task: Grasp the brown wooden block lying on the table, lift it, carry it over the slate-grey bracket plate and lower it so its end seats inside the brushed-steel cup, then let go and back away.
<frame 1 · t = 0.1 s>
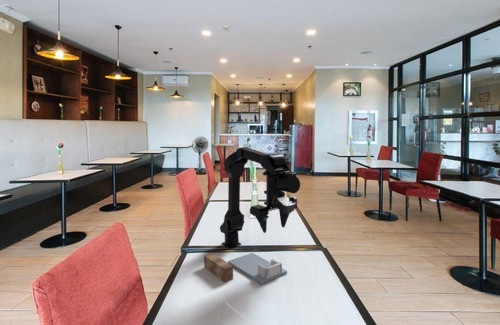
hand: (274, 229, 115), 14 cm above the table, fingers open, 9 cm apart
brown wooden block: (218, 273, 113), on the table
bracket: (256, 268, 116), on the table
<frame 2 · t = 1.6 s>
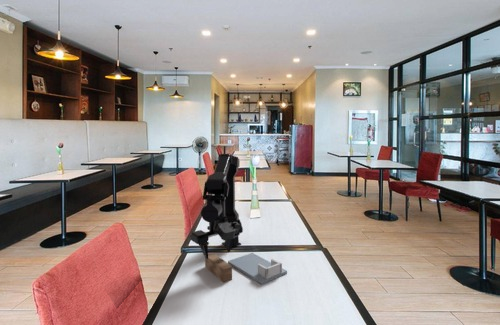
hand: (217, 255, 112), 7 cm above the table, fingers open, 9 cm apart
nothing on the table moved.
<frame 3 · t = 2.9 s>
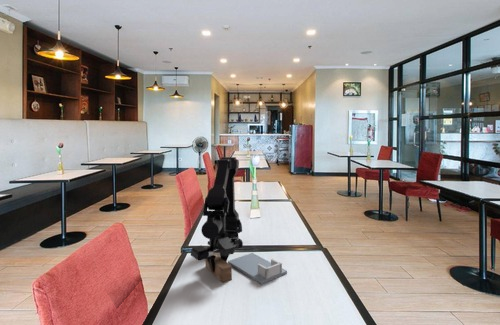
hand: (218, 270, 113), 1 cm above the table, fingers closed on brown wooden block, 4 cm apart
brown wooden block: (218, 273, 113), on the table, touching gripper
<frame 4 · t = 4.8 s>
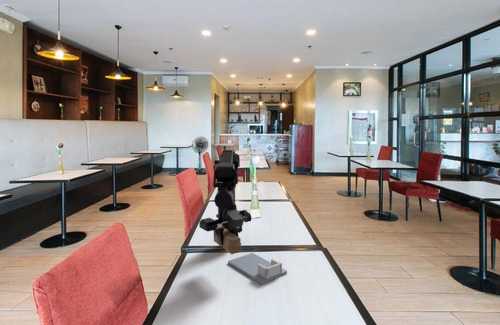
hand: (226, 243, 112), 11 cm above the table, fingers closed on brown wooden block, 4 cm apart
brown wooden block: (226, 246, 112), point 10 cm above the table, touching gripper
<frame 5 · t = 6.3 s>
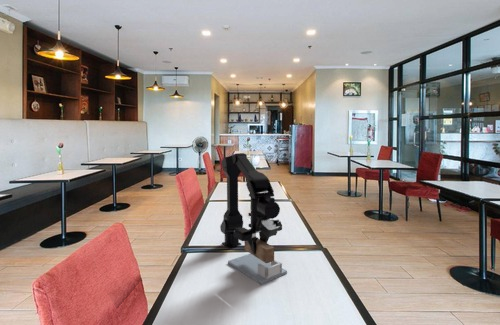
hand: (258, 252, 114), 7 cm above the table, fingers closed on brown wooden block, 4 cm apart
brown wooden block: (258, 255, 114), point 6 cm above the table, touching gripper
when the fingers open (3 cm above the table, at t = 7.2 s): brown wooden block drops 1 cm, resting on bracket.
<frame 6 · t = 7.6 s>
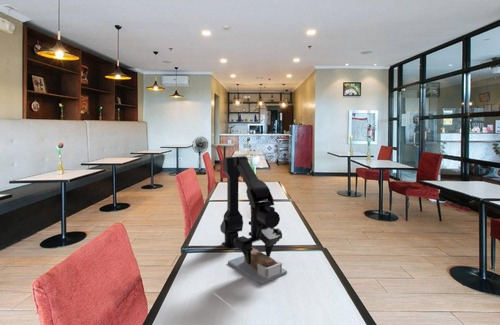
hand: (258, 260, 115), 3 cm above the table, fingers open, 9 cm apart
brown wooden block: (258, 267, 115), point 1 cm above the table, touching bracket
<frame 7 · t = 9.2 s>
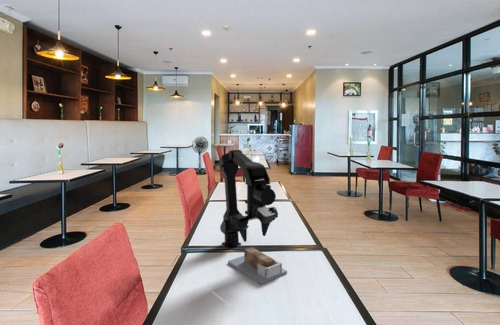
hand: (254, 238, 117), 11 cm above the table, fingers open, 9 cm apart
nothing on the table moved.
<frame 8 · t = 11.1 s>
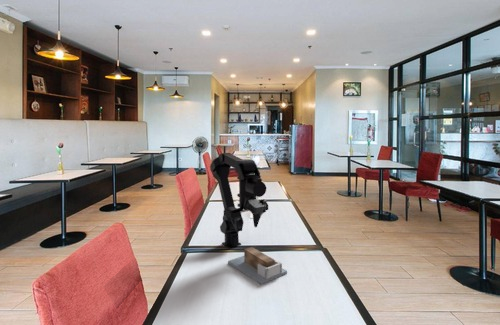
hand: (246, 229, 126), 11 cm above the table, fingers open, 9 cm apart
nothing on the table moved.
at the end: brown wooden block 0.3 cm from the target spot on the bracket, point 1.0 cm above the bracket's base; brown wooden block tilted 0°; the gripper is holding nothing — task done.
